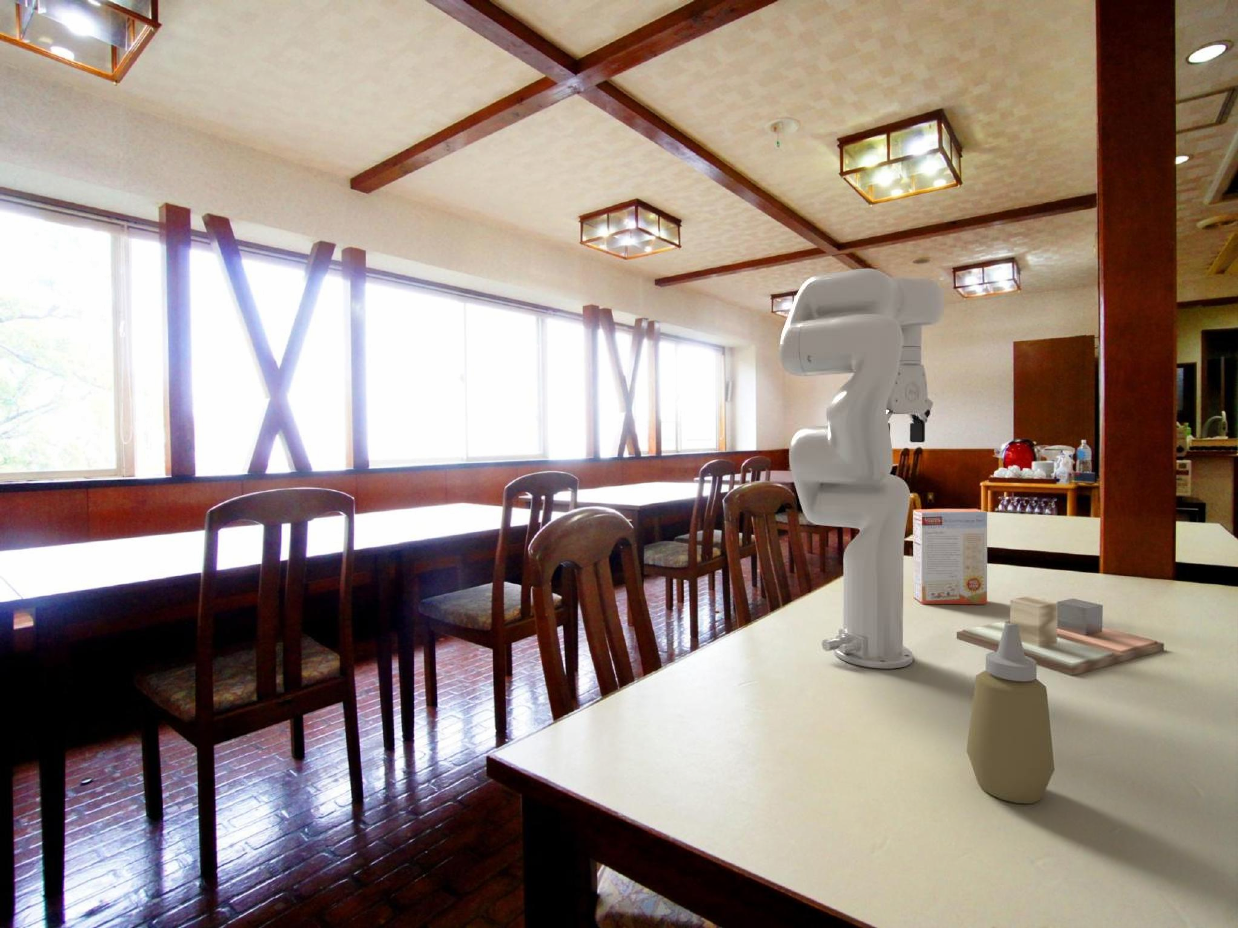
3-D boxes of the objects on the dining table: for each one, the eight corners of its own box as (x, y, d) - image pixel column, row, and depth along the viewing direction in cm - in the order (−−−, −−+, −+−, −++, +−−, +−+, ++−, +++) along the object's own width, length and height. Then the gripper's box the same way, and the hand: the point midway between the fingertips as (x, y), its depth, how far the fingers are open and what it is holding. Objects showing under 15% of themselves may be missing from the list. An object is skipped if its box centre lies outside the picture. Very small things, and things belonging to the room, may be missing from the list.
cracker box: (975, 598, 143) (976, 507, 142) (987, 605, 137) (989, 511, 136) (911, 597, 145) (912, 508, 144) (921, 604, 139) (922, 511, 138)
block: (1038, 646, 106) (1039, 606, 106) (1009, 638, 111) (1010, 599, 110) (1056, 642, 108) (1057, 602, 108) (1027, 634, 113) (1028, 596, 112)
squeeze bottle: (1019, 768, 71) (1022, 612, 70) (1073, 810, 63) (1077, 636, 62) (950, 770, 71) (952, 614, 70) (995, 813, 63) (998, 638, 62)
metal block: (1085, 635, 111) (1086, 608, 111) (1056, 628, 116) (1056, 601, 116) (1102, 631, 113) (1102, 604, 113) (1072, 624, 118) (1073, 598, 118)
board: (1071, 675, 98) (1072, 665, 98) (956, 638, 116) (956, 629, 116) (1163, 649, 108) (1164, 640, 108) (1044, 619, 126) (1045, 611, 126)
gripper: (884, 354, 120) (883, 443, 120) (946, 358, 127) (945, 442, 127) (854, 359, 126) (854, 443, 127) (915, 362, 133) (915, 441, 134)
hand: (900, 442), depth 127 cm, fingers open, 9 cm apart
